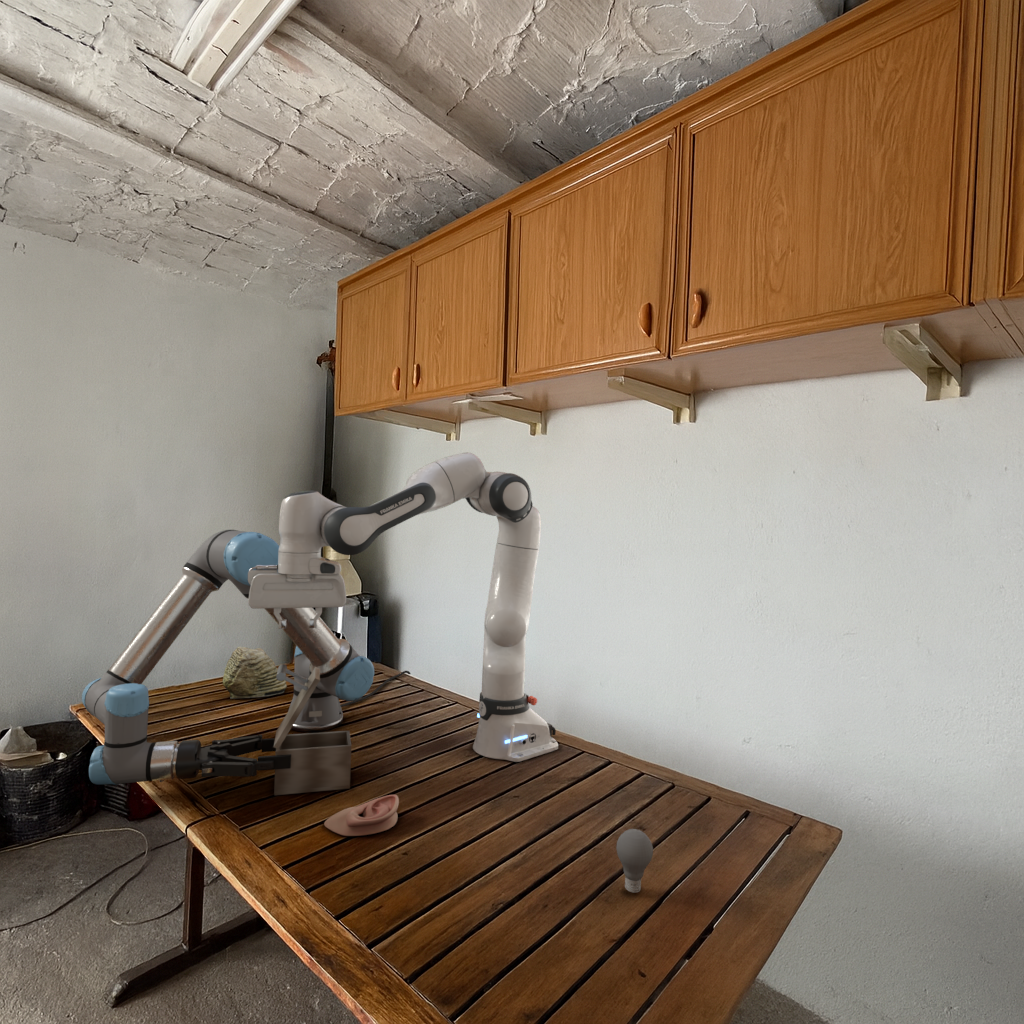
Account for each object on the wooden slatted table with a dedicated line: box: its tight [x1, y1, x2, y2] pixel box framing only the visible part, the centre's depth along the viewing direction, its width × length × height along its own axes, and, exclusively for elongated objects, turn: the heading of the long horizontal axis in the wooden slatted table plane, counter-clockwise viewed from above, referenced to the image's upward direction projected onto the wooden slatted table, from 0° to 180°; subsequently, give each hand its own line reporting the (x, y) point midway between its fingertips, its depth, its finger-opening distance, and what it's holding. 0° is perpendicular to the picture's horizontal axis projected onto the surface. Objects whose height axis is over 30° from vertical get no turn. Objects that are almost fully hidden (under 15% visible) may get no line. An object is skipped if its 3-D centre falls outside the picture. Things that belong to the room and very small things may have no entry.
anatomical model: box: [323, 794, 400, 837], centre depth 124 cm, size 13×4×12 cm
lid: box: [274, 663, 320, 749], centre depth 138 cm, size 16×9×8 cm
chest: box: [273, 730, 352, 796], centre depth 140 cm, size 16×9×9 cm, turn 107°
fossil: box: [222, 646, 288, 699], centre depth 198 cm, size 9×18×15 cm, turn 132°
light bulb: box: [615, 828, 654, 894], centre depth 106 cm, size 6×6×10 cm
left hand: (291, 752), depth 139 cm, fingers closed on chest, 9 cm apart
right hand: (297, 628), depth 138 cm, fingers open, 5 cm apart
